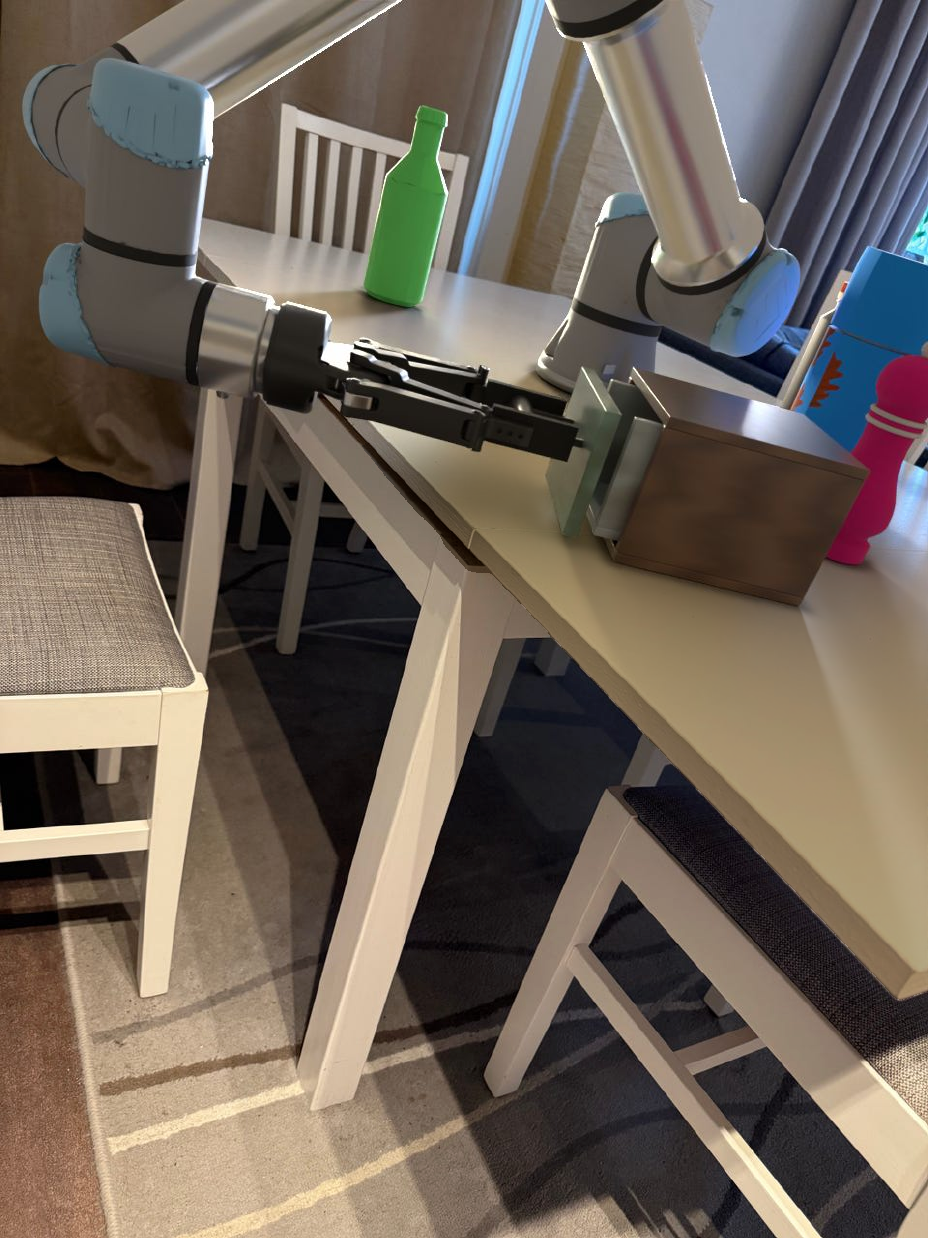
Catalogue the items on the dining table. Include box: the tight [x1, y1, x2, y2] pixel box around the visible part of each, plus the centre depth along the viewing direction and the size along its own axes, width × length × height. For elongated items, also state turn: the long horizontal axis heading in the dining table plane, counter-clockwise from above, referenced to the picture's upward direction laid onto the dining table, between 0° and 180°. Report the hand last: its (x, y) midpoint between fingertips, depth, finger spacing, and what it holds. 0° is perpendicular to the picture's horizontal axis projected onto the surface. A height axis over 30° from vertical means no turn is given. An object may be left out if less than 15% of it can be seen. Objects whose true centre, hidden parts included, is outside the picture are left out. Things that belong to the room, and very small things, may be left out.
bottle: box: [363, 105, 449, 308], centre depth 124 cm, size 9×9×25 cm
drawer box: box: [604, 367, 870, 607], centre depth 72 cm, size 16×14×12 cm
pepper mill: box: [825, 342, 928, 566], centre depth 80 cm, size 7×7×20 cm
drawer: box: [506, 367, 664, 541], centre depth 71 cm, size 20×12×10 cm, turn 91°
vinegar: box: [779, 281, 849, 410], centre depth 125 cm, size 7×7×20 cm
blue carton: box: [790, 245, 928, 453], centre depth 94 cm, size 11×11×25 cm
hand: (566, 429), depth 69 cm, fingers closed on drawer, 6 cm apart
